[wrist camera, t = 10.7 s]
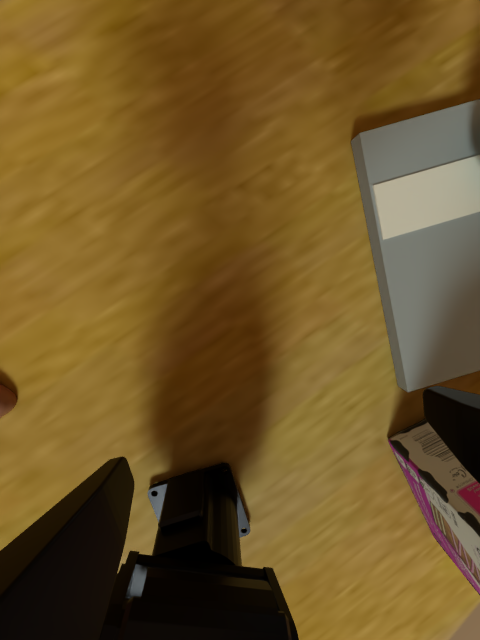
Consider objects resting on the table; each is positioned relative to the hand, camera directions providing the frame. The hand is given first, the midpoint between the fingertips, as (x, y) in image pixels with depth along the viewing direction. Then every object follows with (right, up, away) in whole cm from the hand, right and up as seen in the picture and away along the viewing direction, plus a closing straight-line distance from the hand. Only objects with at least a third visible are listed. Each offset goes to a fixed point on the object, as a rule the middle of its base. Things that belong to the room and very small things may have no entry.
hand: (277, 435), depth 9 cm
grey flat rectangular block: (+16, +9, +13) cm, 22 cm away
